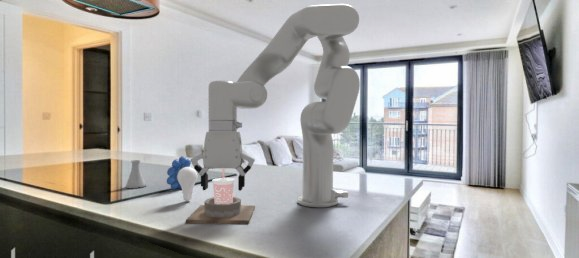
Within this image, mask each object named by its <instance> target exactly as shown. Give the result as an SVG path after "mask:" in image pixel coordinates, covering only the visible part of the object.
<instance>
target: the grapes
mask: <svg viewBox="0 0 579 258" xmlns="http://www.w3.org/2000/svg"><path fill="white" fill-rule="evenodd" d="M191 165H192V163H191V159H189V158H186V157H185V156H179V158H178V159H177V158H176V159H173V161H172V162H171V166H170V167H168V168H167V171H166V173H167V175H168V177H167V179H166V184H167V185H169V186H170V189H171V190H172V191H174V190H175V191H176V190H177V189H179V190H182V187H181V185H180V183H179V182H178V179H177V175H178V172H179V171H180V170H181V169H182V168H184V167H191V168H193V167H192V166H191Z"/></svg>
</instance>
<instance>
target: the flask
mask: <svg viewBox="0 0 579 258" xmlns="http://www.w3.org/2000/svg"><path fill="white" fill-rule="evenodd" d="M130 163H131V169H130V174H129V176H128V179H127V181H126V185H125V188H127V189H138V187H140V188H145V187H147V183H146V181H145V179H144V176H143V174H142V170H141V166H140V163H141V159H133V160H131V161H130Z"/></svg>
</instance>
